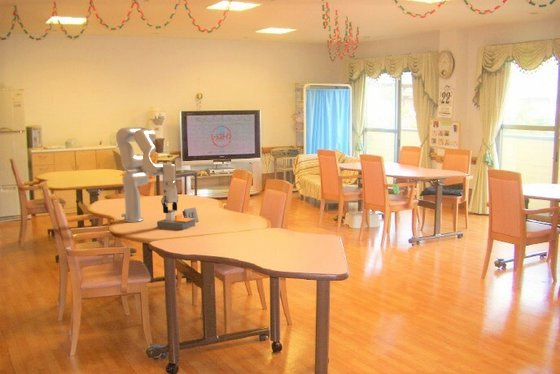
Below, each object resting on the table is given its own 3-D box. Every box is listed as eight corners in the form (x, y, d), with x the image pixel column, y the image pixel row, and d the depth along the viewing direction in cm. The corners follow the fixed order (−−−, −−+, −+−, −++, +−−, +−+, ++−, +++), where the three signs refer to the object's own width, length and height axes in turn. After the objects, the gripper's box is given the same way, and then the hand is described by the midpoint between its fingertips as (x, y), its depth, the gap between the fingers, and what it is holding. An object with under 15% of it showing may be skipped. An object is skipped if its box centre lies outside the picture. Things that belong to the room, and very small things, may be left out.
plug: (166, 226, 372) (165, 210, 371) (169, 225, 376) (169, 209, 374) (171, 227, 370) (171, 211, 369) (175, 226, 374) (174, 210, 373)
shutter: (173, 221, 366) (173, 216, 366) (182, 218, 374) (181, 213, 374) (185, 222, 363) (184, 217, 363) (193, 219, 371) (193, 214, 371)
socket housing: (157, 227, 369) (157, 221, 368) (170, 223, 381) (170, 217, 381) (182, 230, 361) (182, 223, 361) (195, 225, 374) (194, 219, 374)
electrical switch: (188, 223, 381) (186, 209, 380) (182, 223, 384) (181, 209, 383) (199, 221, 388) (197, 207, 387) (193, 221, 391) (192, 207, 391)
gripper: (166, 185, 360) (167, 214, 362) (182, 182, 376) (183, 209, 378) (155, 185, 363) (156, 213, 365) (172, 182, 379) (173, 209, 381)
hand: (170, 211), depth 372 cm, fingers open, 9 cm apart
